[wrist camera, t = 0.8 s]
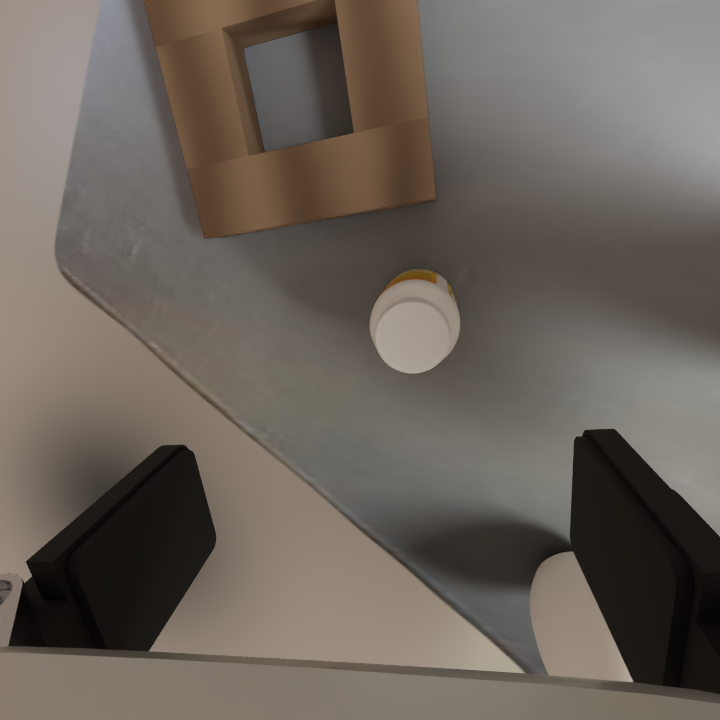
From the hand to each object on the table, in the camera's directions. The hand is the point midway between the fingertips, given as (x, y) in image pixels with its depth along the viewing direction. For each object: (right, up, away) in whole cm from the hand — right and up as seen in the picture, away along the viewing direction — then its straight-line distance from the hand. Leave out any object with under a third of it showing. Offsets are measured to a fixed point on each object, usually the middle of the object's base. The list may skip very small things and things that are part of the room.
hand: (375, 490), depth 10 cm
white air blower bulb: (+17, -14, +26) cm, 34 cm away
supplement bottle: (+4, +7, +21) cm, 22 cm away
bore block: (-4, +21, +18) cm, 28 cm away
